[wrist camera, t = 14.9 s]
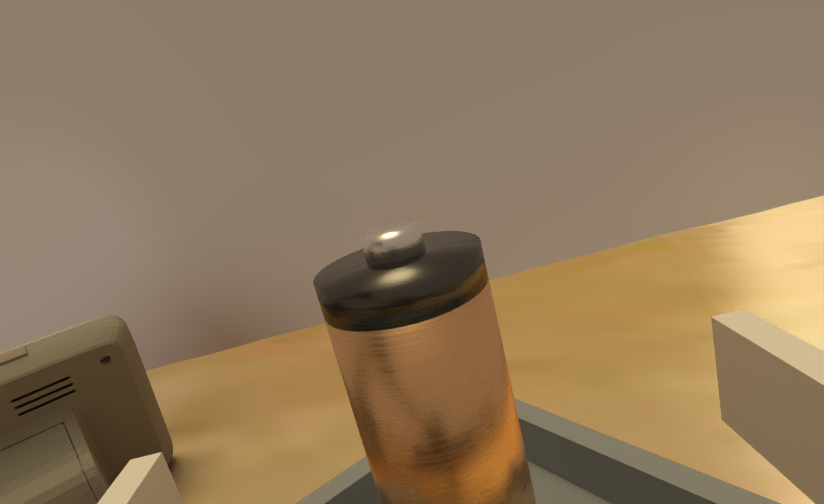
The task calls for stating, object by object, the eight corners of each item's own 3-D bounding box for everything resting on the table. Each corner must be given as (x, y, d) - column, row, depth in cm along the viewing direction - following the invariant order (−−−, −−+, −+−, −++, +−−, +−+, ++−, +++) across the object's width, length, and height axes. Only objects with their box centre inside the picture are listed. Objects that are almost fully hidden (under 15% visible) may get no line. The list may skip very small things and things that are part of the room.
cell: (392, 609, 17) (278, 252, 14) (487, 526, 20) (407, 204, 16) (485, 718, 14) (359, 268, 10) (587, 600, 16) (511, 204, 13)
